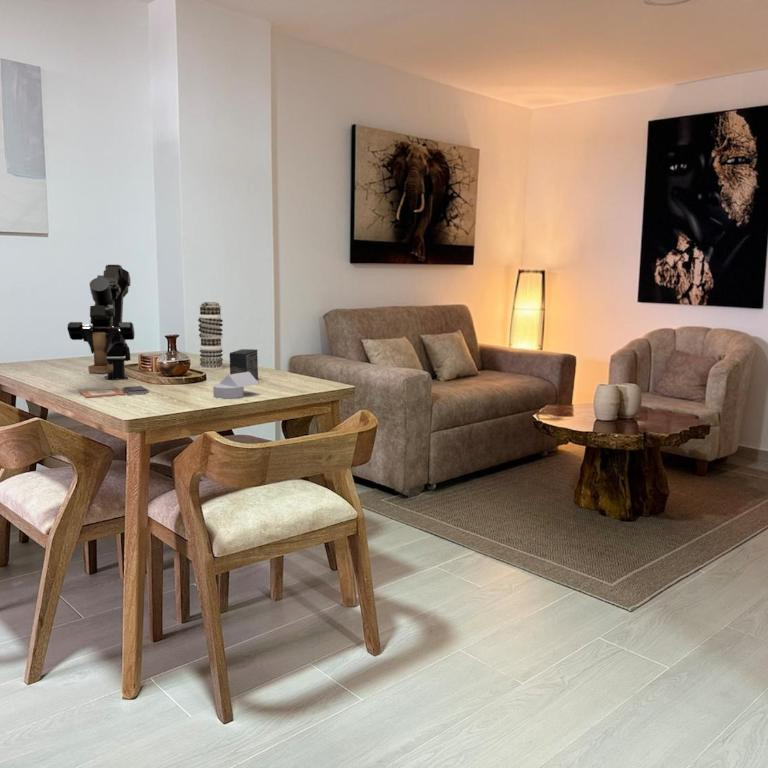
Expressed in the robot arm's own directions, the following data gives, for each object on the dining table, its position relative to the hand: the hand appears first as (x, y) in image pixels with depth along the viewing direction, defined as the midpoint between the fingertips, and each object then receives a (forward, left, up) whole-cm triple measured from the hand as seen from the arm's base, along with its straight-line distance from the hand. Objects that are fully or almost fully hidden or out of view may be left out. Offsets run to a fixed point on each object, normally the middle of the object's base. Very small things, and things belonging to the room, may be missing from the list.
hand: (99, 352), depth 219 cm
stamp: (-1, +1, -6) cm, 7 cm away
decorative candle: (-38, +48, -13) cm, 62 cm away
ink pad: (+1, +10, -13) cm, 16 cm away
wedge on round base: (+19, +35, -13) cm, 42 cm away
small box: (-5, +48, -13) cm, 50 cm away
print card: (-1, 0, -13) cm, 13 cm away
